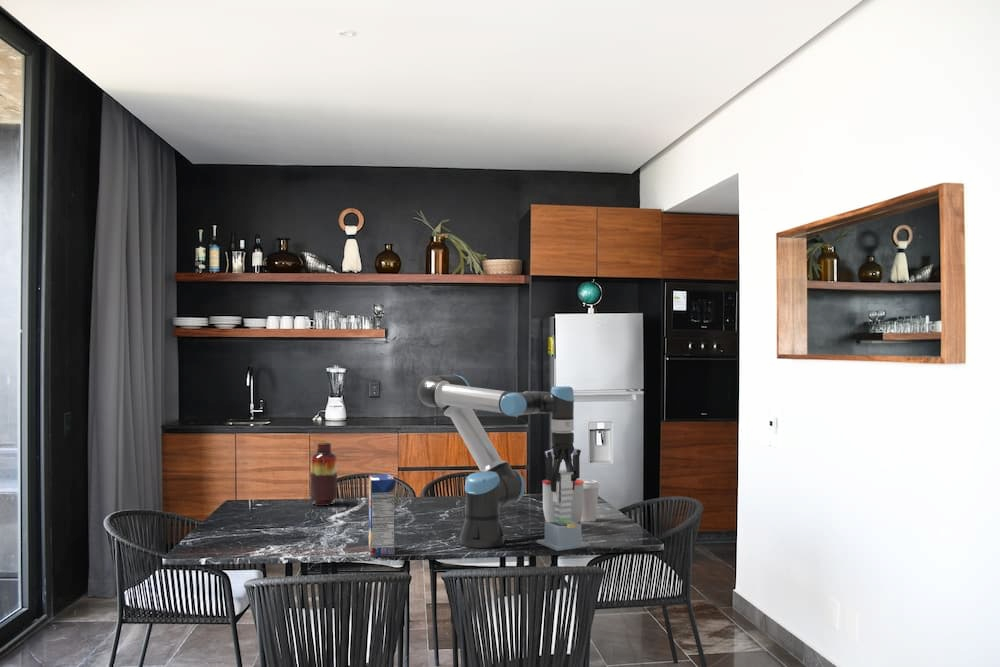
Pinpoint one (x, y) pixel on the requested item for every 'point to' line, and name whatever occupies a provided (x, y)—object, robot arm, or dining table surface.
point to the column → (564, 499)
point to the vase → (323, 475)
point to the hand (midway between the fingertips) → (562, 500)
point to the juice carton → (381, 515)
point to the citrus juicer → (576, 502)
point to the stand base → (562, 536)
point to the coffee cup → (590, 500)
